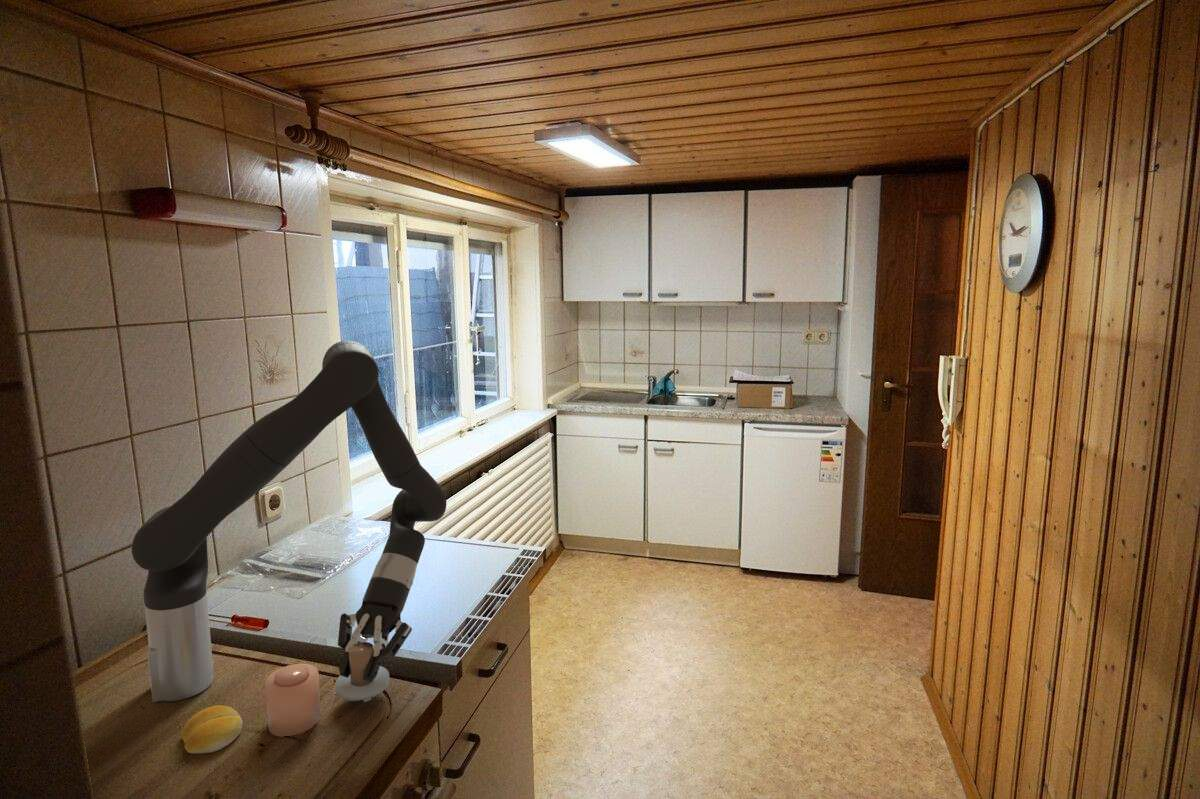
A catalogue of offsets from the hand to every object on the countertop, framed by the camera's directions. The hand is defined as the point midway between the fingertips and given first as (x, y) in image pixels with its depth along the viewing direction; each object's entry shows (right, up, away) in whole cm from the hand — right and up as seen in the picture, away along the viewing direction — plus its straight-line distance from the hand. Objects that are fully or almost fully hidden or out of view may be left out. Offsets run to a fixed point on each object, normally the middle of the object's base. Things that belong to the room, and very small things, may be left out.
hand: (355, 677), depth 110 cm
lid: (0, -3, +2) cm, 4 cm away
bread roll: (-21, -7, -7) cm, 23 cm away
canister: (-9, -6, -3) cm, 11 cm away
